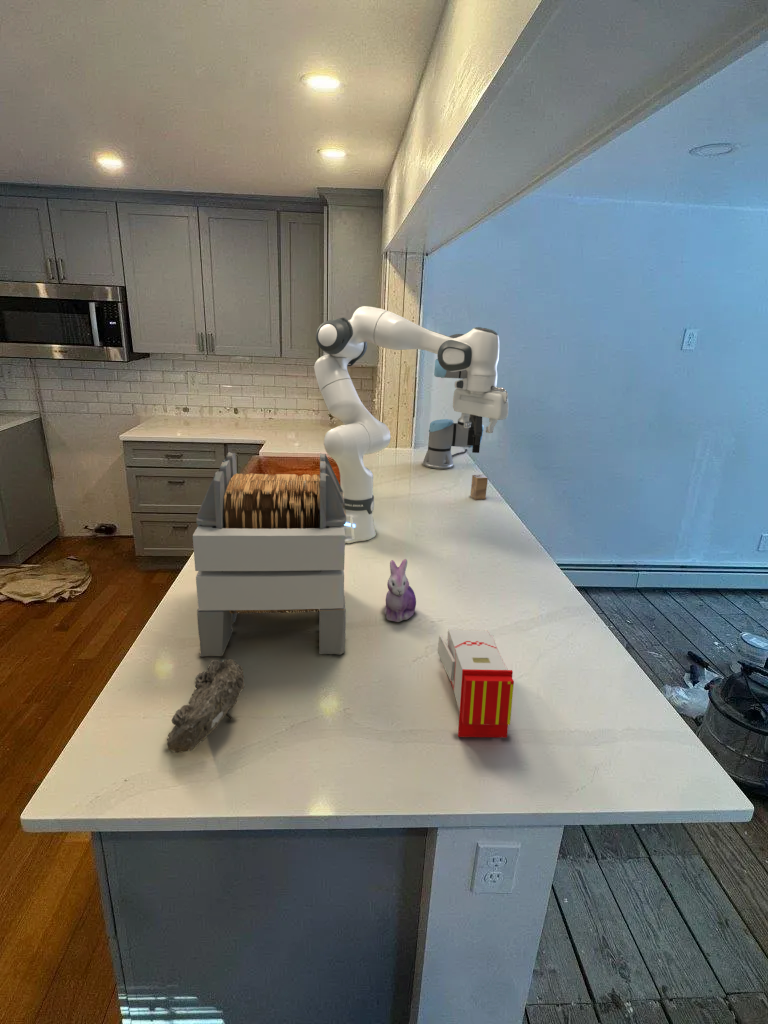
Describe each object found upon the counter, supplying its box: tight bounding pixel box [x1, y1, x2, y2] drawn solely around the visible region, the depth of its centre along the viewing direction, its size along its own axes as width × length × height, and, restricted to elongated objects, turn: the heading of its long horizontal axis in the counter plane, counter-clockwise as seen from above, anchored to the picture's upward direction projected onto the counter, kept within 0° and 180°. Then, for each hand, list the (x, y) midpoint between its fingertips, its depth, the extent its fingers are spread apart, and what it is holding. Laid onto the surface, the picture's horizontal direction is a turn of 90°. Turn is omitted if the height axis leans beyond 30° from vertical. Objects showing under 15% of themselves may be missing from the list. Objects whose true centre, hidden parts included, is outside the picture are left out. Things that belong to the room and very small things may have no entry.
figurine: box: [384, 558, 417, 623], centre depth 145 cm, size 9×10×15 cm
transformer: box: [192, 452, 347, 658], centre depth 136 cm, size 34×33×41 cm
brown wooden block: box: [470, 474, 489, 501], centre depth 241 cm, size 5×5×10 cm
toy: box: [437, 628, 515, 738], centre depth 117 cm, size 12×13×30 cm
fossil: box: [166, 658, 245, 754], centre depth 106 cm, size 22×10×15 cm
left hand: (478, 430), depth 175 cm, fingers open, 8 cm apart
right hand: (472, 448), depth 235 cm, fingers open, 13 cm apart
